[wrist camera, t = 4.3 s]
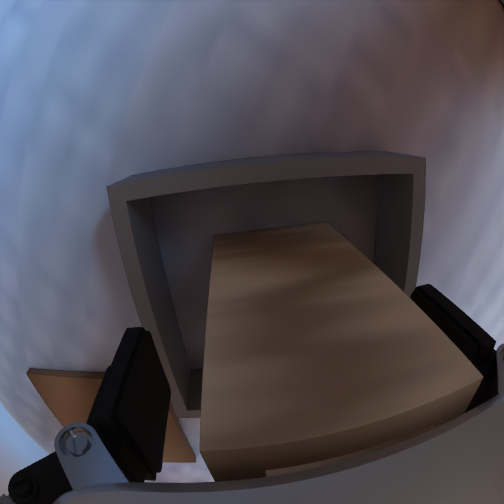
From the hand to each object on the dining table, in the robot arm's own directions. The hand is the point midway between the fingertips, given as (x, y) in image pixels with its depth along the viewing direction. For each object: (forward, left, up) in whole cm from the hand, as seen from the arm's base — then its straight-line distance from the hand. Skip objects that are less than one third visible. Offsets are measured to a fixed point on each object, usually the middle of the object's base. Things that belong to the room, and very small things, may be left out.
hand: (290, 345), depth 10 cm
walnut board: (+12, +10, -5) cm, 16 cm away
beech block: (0, 0, -5) cm, 5 cm away
